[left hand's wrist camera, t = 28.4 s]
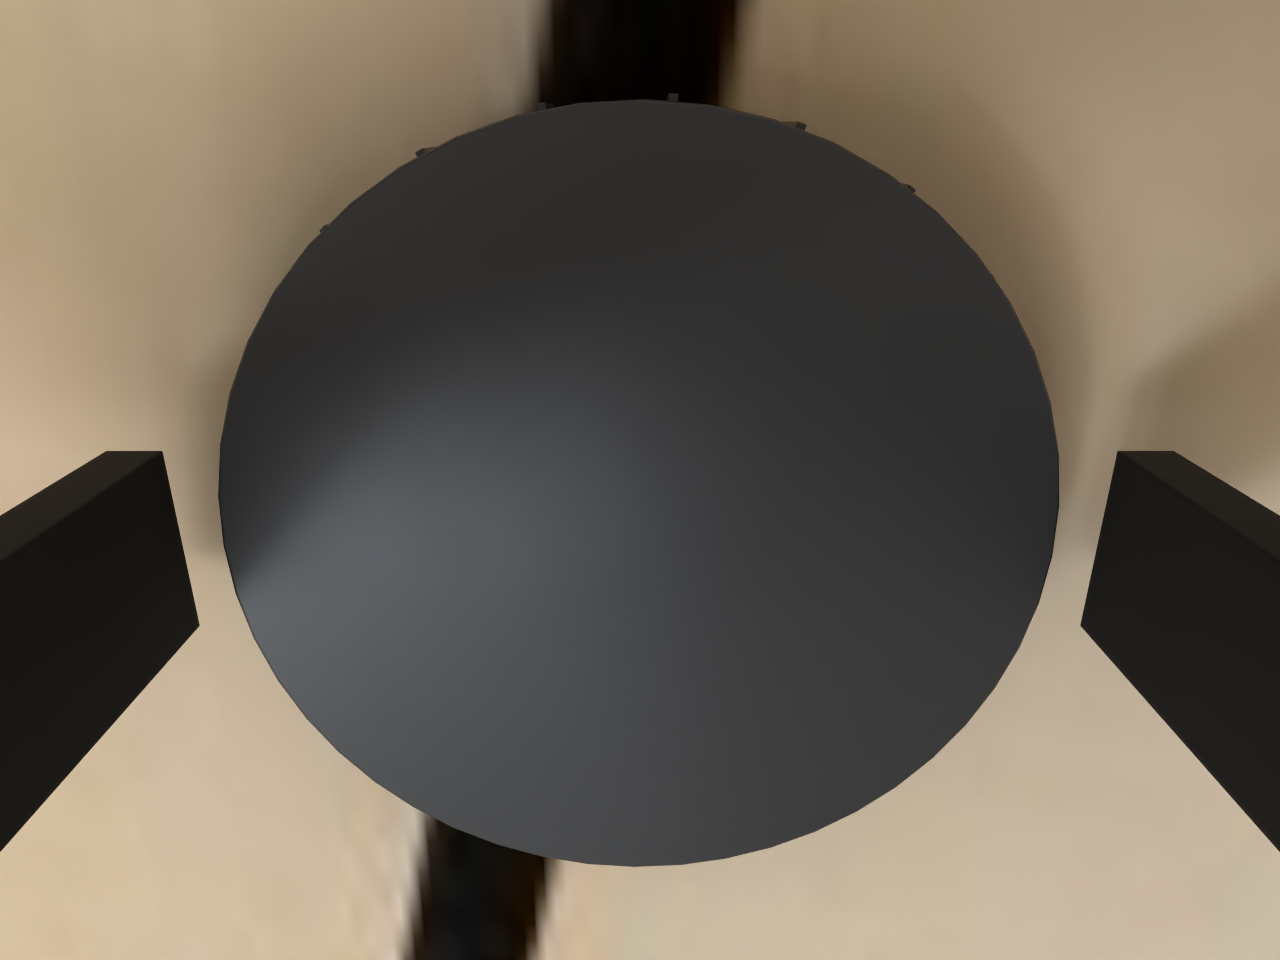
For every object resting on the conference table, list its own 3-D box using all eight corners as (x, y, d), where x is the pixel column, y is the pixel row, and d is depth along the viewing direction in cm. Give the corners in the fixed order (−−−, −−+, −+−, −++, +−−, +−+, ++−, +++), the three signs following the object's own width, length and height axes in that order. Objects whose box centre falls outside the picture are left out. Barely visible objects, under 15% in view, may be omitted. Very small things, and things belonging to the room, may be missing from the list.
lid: (229, 707, 15) (175, 782, 13) (324, -20, 11) (265, -46, 9) (849, 845, 16) (875, 932, 14) (1144, 234, 12) (1228, 253, 10)
